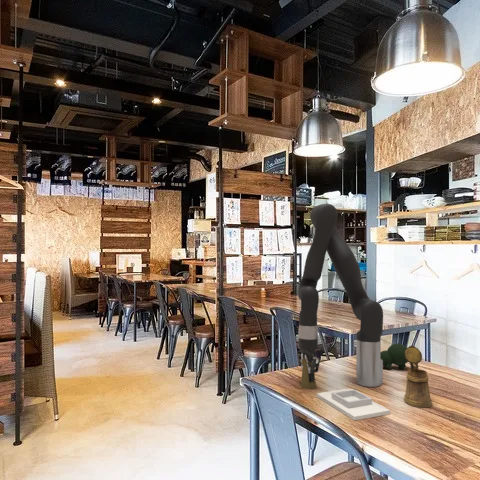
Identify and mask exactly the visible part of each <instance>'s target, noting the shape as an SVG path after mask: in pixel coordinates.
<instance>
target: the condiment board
mask: <svg viewBox="0 0 480 480" xmlns="http://www.w3.org/2000/svg"><path fill="white" fill-rule="evenodd" d="M316 397H317V398H318V399H319V400H321V401H322V402H325V403H326V404H328V406H331V408H334V409H335V410H337V411H338V412H340V413H342V414H343V415H345V416H347V417H348V418H350V419H351V420H352V421H361V420H366V419H370V418H376V417H381V416H386V415H391V409H389V408H387V407H385V406H383V405H381V404H379V403H377V402H375V401H374V400H373V398H372V397H370V396H368V395H366V394H365V393H363V392H360V391H358V390H356V389H351V388H343V389H337V390H331V391H330V390H329V391H325V392H318V393H316Z"/></svg>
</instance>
